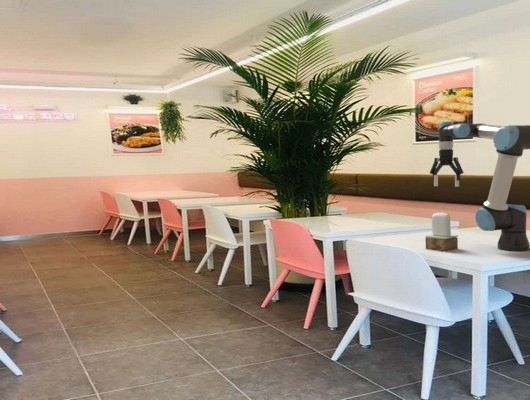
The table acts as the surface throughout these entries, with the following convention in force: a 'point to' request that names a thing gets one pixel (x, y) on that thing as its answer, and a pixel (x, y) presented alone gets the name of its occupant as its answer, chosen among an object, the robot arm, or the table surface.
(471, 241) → the table surface
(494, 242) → the table surface
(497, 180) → the robot arm
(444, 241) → the box carcass
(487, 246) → the table surface
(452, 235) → the lid
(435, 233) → the photo printer
